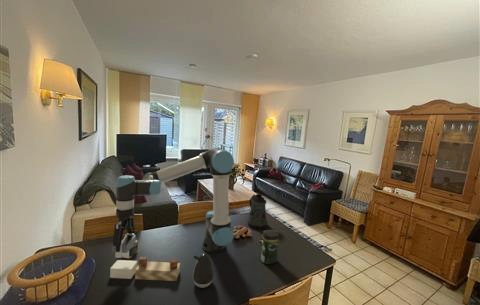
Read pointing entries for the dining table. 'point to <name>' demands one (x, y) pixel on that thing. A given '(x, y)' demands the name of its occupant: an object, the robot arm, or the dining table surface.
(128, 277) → the block
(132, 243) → the lever cap
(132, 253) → the medicine bottle
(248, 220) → the beer stein
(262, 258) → the coffee jar
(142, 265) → the cream wooden plank
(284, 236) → the dining table surface
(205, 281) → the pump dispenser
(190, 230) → the dining table surface
